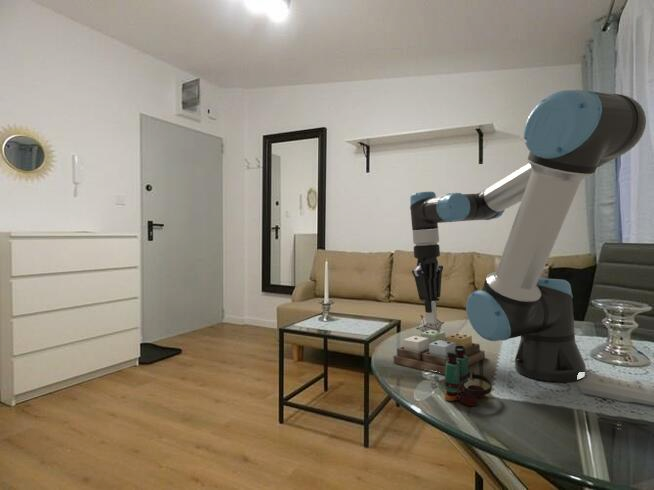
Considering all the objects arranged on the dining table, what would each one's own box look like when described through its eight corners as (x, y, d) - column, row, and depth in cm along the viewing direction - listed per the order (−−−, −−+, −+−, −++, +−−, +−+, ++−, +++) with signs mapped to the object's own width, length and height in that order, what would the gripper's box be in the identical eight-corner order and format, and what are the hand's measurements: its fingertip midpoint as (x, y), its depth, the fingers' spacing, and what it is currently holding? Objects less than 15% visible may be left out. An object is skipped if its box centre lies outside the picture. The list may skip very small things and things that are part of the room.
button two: (456, 353, 103) (455, 341, 102) (446, 358, 99) (445, 346, 99) (440, 350, 106) (439, 339, 106) (429, 355, 103) (428, 343, 103)
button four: (472, 346, 108) (471, 334, 108) (463, 350, 105) (462, 338, 105) (456, 343, 112) (455, 332, 112) (446, 347, 109) (446, 336, 109)
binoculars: (485, 363, 76) (437, 352, 82) (484, 415, 76) (436, 400, 83) (498, 351, 82) (453, 341, 89) (497, 398, 83) (452, 385, 90)
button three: (445, 341, 115) (444, 331, 114) (436, 345, 111) (435, 334, 111) (431, 339, 118) (430, 329, 118) (421, 343, 115) (420, 332, 115)
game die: (436, 348, 133) (445, 329, 127) (412, 340, 134) (420, 320, 128) (439, 330, 140) (447, 311, 134) (416, 322, 141) (423, 303, 135)
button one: (429, 348, 109) (428, 337, 109) (418, 353, 106) (417, 341, 106) (414, 345, 113) (413, 335, 113) (404, 350, 109) (403, 338, 109)
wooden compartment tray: (484, 357, 108) (483, 343, 108) (450, 376, 96) (449, 360, 96) (430, 347, 122) (429, 335, 121) (393, 362, 110) (392, 349, 110)
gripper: (428, 243, 122) (433, 317, 122) (402, 246, 113) (408, 325, 113) (449, 242, 116) (454, 319, 116) (424, 245, 107) (430, 328, 108)
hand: (431, 322), depth 115 cm, fingers closed
